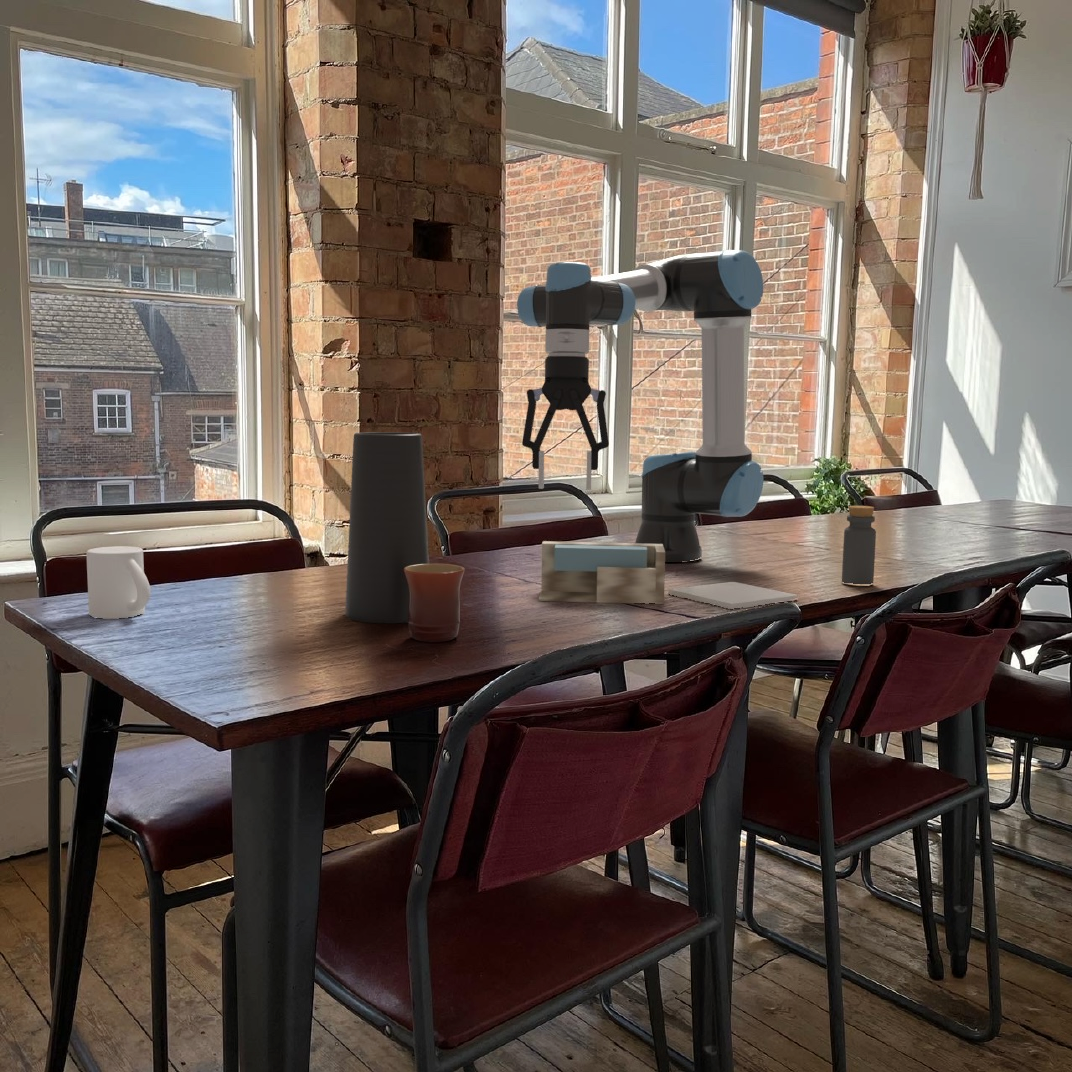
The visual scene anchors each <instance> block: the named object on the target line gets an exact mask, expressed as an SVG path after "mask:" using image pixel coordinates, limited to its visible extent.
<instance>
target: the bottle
mask: <svg viewBox="0 0 1072 1072" xmlns="http://www.w3.org/2000/svg"><path fill="white" fill-rule="evenodd" d="M874 511H875V507H874V506H869V505H849V506H848V512H849V514H848V515H847V516H846V521H847V522H848V523H849V526H847V527H845V528H844V532H843V547H842V548H843V549H842V569H841V583H842V582H844V583H853V584H871V583H873V584H874V575H875V559H876V545H877V544H876V543H877V542H876V541H877V540H876V539H877V531H876V529H875V528H874V527H872V523H874V522H875V520H876V518H875V516H873V515H874Z"/></svg>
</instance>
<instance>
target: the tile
mask: <svg viewBox="0 0 1072 1072" xmlns="http://www.w3.org/2000/svg"><path fill="white" fill-rule="evenodd" d="M667 593H668V594H670V595H669V596H672V595H674V597H676V596H677V597H676V598H680V599H684V598H688V599H687V600H689V599H692V600H691V601H693V600H696V601H695V602H697V601H700V602H699V603H701V602H704V603H703V604H705V603H711V604H715V605H718V606H722V607H724V608H723V609H726V608H728V610H730V609H733V610H735V609H734V608H740V607H743V608H742V609H745V608H755V607H759V606H758V605H762V606H766V605H765V604H769V603H775V602H778V601H792V600H790V599H795V598H798V599H799V594H795V593H789V592H784V591H779V590H776V589H775V590H774V589H770V588H765V587H760V586H756V585H751V584H746V583H741V582H739V581H738V582H736V581H728V582H718V583H711V584H702V585H694V586H685V587H684V586H683V587H676V588H675V587H674V588H668V591H667ZM668 594H667V595H668ZM792 602H793V601H792ZM718 606H717V607H718ZM754 606H755V607H754ZM722 607H721V608H722ZM740 609H741V608H740Z"/></svg>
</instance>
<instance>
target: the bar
mask: <svg viewBox="0 0 1072 1072" xmlns="http://www.w3.org/2000/svg"><path fill="white" fill-rule="evenodd" d="M597 567H632V568H647V547H642V546H597V545H555V552H554V570H557V571H597Z"/></svg>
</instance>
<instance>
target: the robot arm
mask: <svg viewBox="0 0 1072 1072" xmlns="http://www.w3.org/2000/svg"><path fill="white" fill-rule="evenodd" d="M763 294H764V279H763V275H762V270H761V267H760V265H759V263H758V262H757V261H756V259H755V257H754V256H753V255H752V254H751V253H750V252H748V251H745V250H744V249H743V250H741V249H739V250H738V249H726V250H725V249H724V250H717V251H716V250H715V251H706V252H697V253H687V254H686V253H684V254H679V255H675V256H672V257H671V256H670V257H667V258H664V259H661V260H660V259H659V260H657V261H654V262H649V263H643V264H640V265H638V266H637V267H635V268H634V269H633V270H631V271H626V272H625V271H624V272H621V273H620V272H619V273H614V274H613V273H612V274H607V275H600V276H595V277H594V276H592V274H591V266H590V265H589V264H587V263H584V262H577V261H563V262H554V263H551V264H550V265H549V266H548V268H547V272H546V282H545V284H535V285H532V286H526V287H525V288H523V289H522V290H521V292H520V293H519V294H518V296H517V302H516V309H517V315H518V317H519V319H520V321H521V322H522V323H523V324H524V325H526V326H528V327H532V328H534V327H535V328H536V327H537V328H542V327H545V336H544V337H545V340H544V341H545V345H544V346H545V347H544V348H545V349H544V351H545V354H548V355H547V356H546V358H544V383H543V385H542V387H539V388H535V389H531V388H530V389H527V390H526V396H527V403H528V404H527V410H526V417H525V424H524V428H523V436H522V441H521V444H522V446H523V447H526V448H528V449H531V451H532V464H531V465H532V469H534V470H538V489H539V490H543V489H544V488H545V485H544V484H545V450H541V446H542V444H543V442H544V439H545V437H546V434H547V432H548V430H549V428H550V426H551V423H552V420H553V419H554V416H555V414H556V411H563V410H569V411H576V414H577V415H578V418H579V421H580V423H581V426H582V428H583V431H584V434H585V436H586V439H587V441H588V444H589V447H590V449H591V450H590V451H589V450H587V451H586V480H585V482H586V484H585V485H586V488H585V489H586V490H592V471H597V470H598V468H599V452H600V450H604V449H607V448H608V447H609V445H610V441H609V435H608V427H607V421H606V420H607V419H606V411H605V399H606V396H607V395H606V394H607V393H606V391H605V390H603V389H602V390H600V389H595V388H592V387H591V385H590V383H589V381H590V380H589V379H590V378H589V374H590V373H589V371H590V370H589V368H590V364H589V363H590V359H589V358H588V357H587V356H586V355H587V354H589V353H590V325H607V326H621V325H624V324H625V323H627V322H628V321H630V319H631V318H632V317H633V315H634V313H635V310H639V311H641V312H642V311H643V312H648V313H649V312H653V311H654V312H655V311H670V312H671V311H672V312H674V311H675V312H693V321H694V322H695V323H696V325H697V324H698V326H699V327H700V329H701V402H702V403H701V405H702V406H701V407H702V412H701V413H702V416H701V417H702V418H701V419H702V444H701V446H700V447H698V449H697V450H696V451H688V452H687V451H686V452H676V453H675V452H674V453H665V454H664V453H663V454H661V453H660V454H654V455H649V456H647V457H645V459H644V460H643V464H642V473H641V480H642V482H641V520H640V521H641V522H640V526H639V529H638V531H637V535H636V538H635V543H642V544H663V547H664V550H665V562H682V561H690V560H695V559H698V558H700V557H702V554H703V553H702V552H703V550H702V545H700V540H699V536H698V532H697V528H696V524H695V523H696V521H695V518H696V514H702V515H711V516H712V515H713V516H722V517H724V518H729V517H745V516H747V515H749V514H750V513H751V512H752V511H753V510H755V507H756V506H757V504H758V503H759V501H760V498H761V495H762V492H763V486H764V473H763V470H762V467H761V465H760V464H759V463H757V462H756V461H754V460H753V459H752V457H753V456H752V455H753V451H752V450H751V449H750V448H749V447H748V446H747V445H746V443H745V326H746V325H747V324H748V322H749V321H750V320H751V319H752V310H753V309H756V308H757V307H758V306H759V305H760V303H761V302H762V297H763ZM541 395H543V396H544V397H545V399H546V400H547V401H548V403H549V406H548V408H547V411H546V413H545V415H544V417H543V420H542V423H541V426H540V428H539V429H538V433H537V435H536V437H535V440H534V441H532V440H531V438H532V434H533V427H534V420H535V414H536V411H537V410H536V408H537V402H539V401H540V399H541ZM590 395H591V396H592V400H593V402H595V403H596V410H597V419H598V426H599V427H598V428H599V433H600V442H597V440H596V437H595V434H594V432H593V431H594V430H593V429H592V426H591V424H590V421H589V419H588V416H587V414H586V410H585V408H584V405H583V404H584V403H585V401H586V400H587V399H588V397H589V396H590ZM682 563H683V562H682Z"/></svg>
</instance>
